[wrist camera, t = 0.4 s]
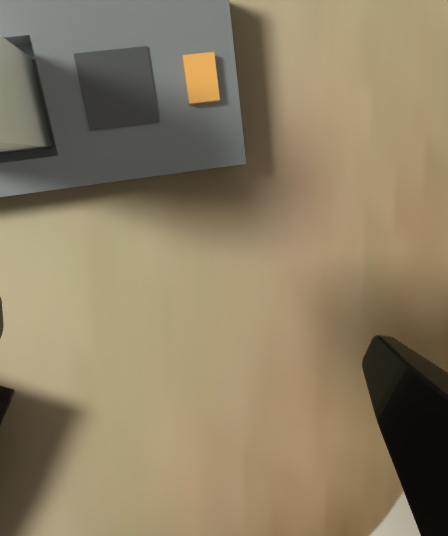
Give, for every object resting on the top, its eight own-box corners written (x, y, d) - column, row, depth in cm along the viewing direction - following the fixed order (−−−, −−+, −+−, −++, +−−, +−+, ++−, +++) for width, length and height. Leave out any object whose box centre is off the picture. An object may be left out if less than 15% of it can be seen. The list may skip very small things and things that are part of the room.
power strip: (219, -2, 20) (228, -29, 17) (237, 163, 22) (248, 164, 19) (-124, 30, 18) (-178, 6, 15) (-66, 203, 20) (-104, 211, 18)
